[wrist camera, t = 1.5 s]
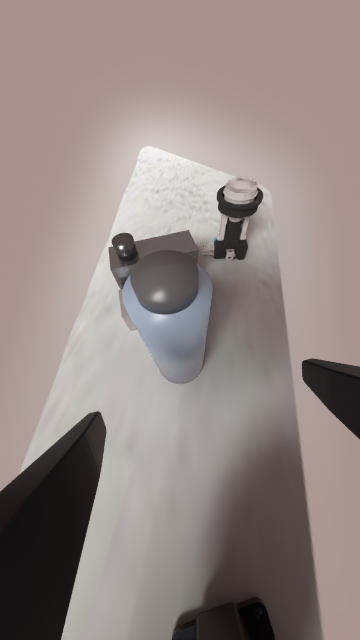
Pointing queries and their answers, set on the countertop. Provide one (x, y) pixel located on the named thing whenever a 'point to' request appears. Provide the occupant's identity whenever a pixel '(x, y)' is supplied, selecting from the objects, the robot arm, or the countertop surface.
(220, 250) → the push button
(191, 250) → the motor block
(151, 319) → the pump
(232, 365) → the countertop surface
